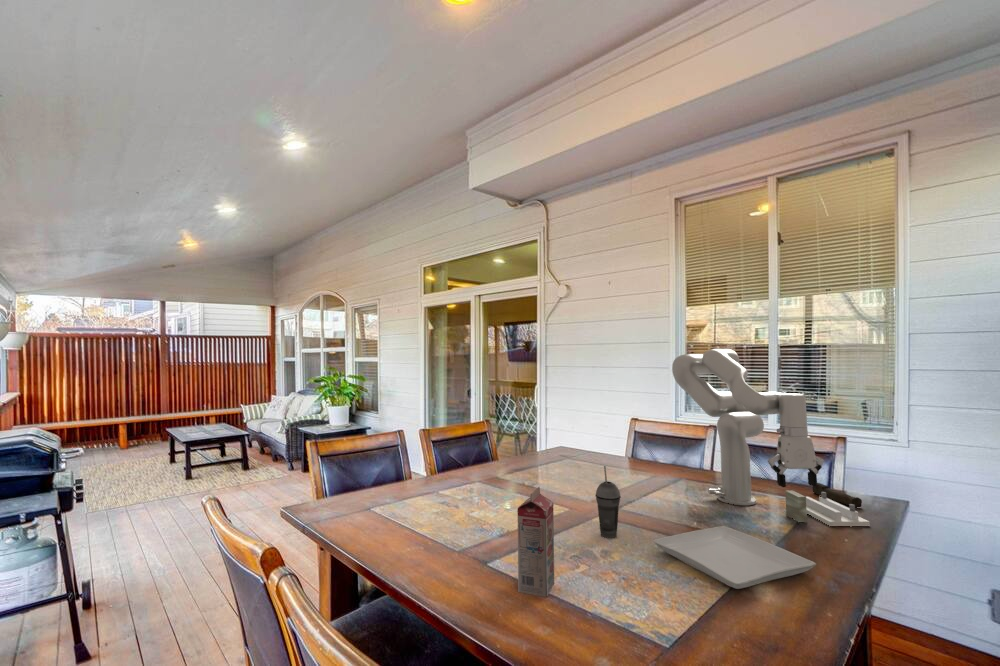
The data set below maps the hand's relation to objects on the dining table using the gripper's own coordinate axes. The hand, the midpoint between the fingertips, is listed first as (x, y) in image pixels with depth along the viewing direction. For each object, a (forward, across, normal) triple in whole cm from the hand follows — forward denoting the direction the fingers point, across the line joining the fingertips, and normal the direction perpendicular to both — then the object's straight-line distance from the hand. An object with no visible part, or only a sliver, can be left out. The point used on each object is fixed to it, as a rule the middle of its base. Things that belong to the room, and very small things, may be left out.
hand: (797, 485), depth 152 cm
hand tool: (+11, +24, +20) cm, 33 cm away
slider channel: (+11, +12, +3) cm, 16 cm away
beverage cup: (+10, -63, -13) cm, 66 cm away
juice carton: (+11, -86, -44) cm, 98 cm away
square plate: (+12, -36, -31) cm, 49 cm away
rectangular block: (+11, 0, +1) cm, 11 cm away
